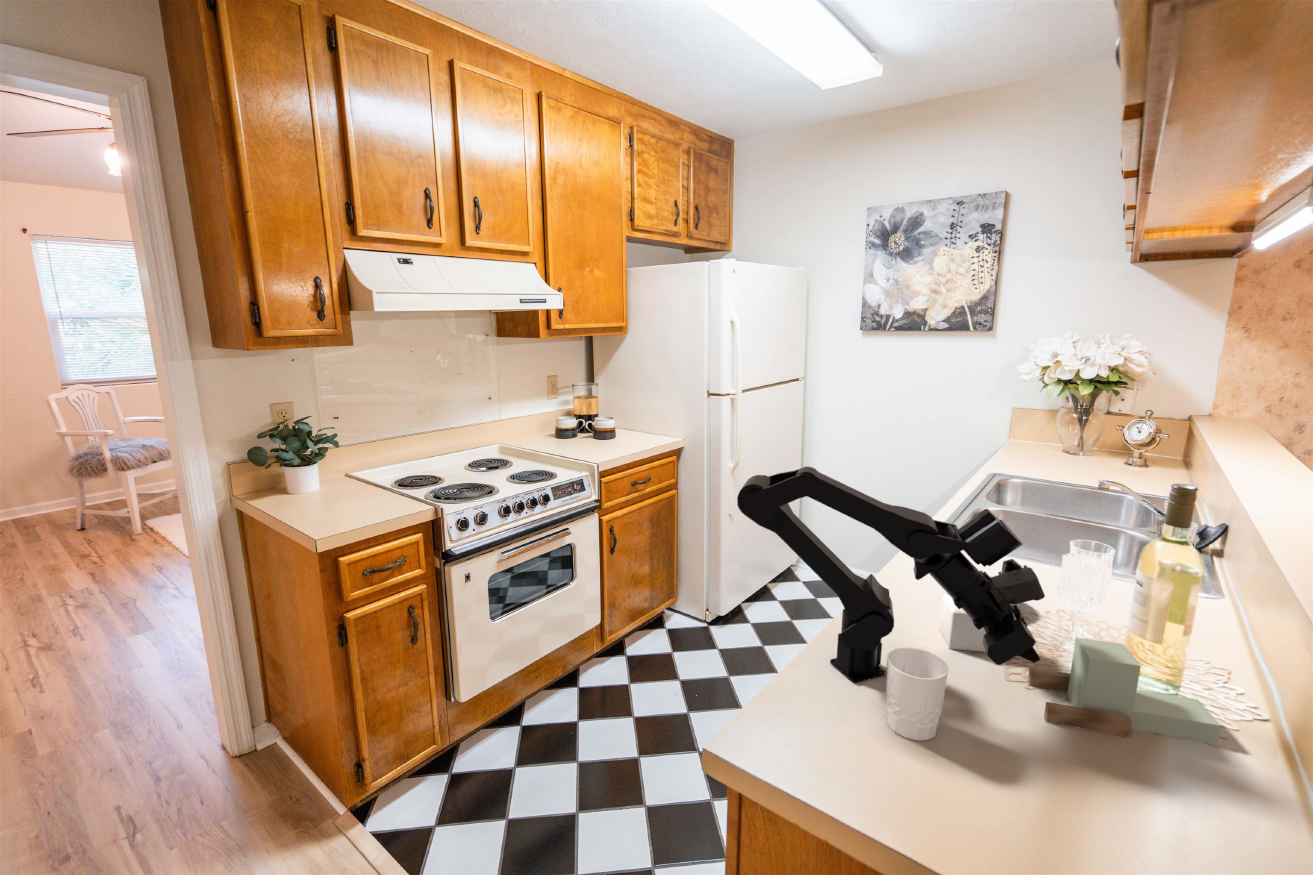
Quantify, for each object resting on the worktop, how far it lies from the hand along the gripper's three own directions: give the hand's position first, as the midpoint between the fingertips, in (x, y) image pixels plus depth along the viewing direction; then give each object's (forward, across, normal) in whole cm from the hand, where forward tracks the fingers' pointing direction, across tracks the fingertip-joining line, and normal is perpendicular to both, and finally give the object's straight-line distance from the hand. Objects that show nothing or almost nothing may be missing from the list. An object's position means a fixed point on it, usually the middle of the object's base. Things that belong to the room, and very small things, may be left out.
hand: (1037, 660), depth 90 cm
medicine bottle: (0, +15, +10) cm, 18 cm away
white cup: (-8, -12, +18) cm, 23 cm away
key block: (+14, 0, -5) cm, 15 cm away
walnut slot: (+9, 0, +1) cm, 9 cm away
